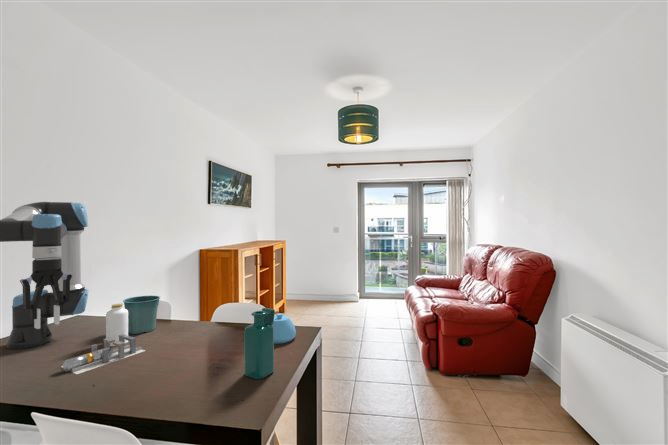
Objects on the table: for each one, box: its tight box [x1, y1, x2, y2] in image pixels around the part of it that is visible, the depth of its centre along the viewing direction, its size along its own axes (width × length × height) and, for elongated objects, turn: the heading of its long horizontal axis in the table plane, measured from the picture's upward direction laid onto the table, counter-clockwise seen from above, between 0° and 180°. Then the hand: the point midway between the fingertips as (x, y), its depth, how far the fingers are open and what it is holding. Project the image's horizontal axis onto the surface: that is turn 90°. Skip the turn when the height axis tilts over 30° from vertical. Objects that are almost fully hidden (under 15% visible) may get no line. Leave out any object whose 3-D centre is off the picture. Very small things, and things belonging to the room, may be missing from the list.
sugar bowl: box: [272, 312, 297, 345], centre depth 148 cm, size 15×15×12 cm
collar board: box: [60, 334, 146, 375], centre depth 125 cm, size 13×24×7 cm, turn 150°
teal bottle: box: [243, 307, 276, 380], centre depth 114 cm, size 10×8×22 cm
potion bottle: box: [105, 303, 129, 347], centre depth 142 cm, size 8×8×18 cm
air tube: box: [62, 347, 112, 372], centre depth 120 cm, size 14×4×4 cm, turn 150°
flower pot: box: [122, 295, 161, 335], centre depth 162 cm, size 16×16×16 cm
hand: (47, 325), depth 110 cm, fingers open, 4 cm apart
